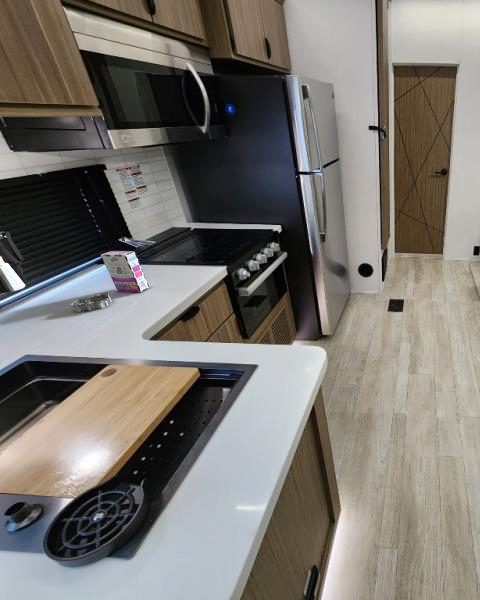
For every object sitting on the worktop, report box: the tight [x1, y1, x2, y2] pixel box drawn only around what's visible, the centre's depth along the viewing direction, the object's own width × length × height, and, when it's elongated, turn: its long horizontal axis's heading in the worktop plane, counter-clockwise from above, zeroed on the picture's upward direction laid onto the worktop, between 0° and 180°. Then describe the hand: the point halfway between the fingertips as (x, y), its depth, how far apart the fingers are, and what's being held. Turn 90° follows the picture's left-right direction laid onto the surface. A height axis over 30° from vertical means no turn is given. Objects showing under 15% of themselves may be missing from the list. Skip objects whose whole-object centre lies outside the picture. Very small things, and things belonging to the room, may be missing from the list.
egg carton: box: [69, 291, 113, 313], centre depth 126 cm, size 11×8×4 cm
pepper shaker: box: [0, 256, 27, 293], centre depth 106 cm, size 5×5×11 cm
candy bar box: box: [100, 250, 150, 293], centre depth 135 cm, size 11×5×16 cm, turn 83°
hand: (14, 287), depth 109 cm, fingers closed on pepper shaker, 5 cm apart
